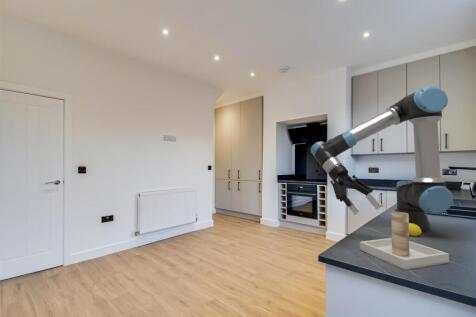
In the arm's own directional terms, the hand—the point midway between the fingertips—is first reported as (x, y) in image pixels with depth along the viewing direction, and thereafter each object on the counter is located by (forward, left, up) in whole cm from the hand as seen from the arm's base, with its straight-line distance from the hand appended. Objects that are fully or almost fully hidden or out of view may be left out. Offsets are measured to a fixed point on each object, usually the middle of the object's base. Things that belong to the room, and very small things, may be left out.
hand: (368, 210), depth 94 cm
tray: (-2, +11, -14) cm, 18 cm away
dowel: (-2, +11, -13) cm, 17 cm away
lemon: (-28, -6, -14) cm, 32 cm away
